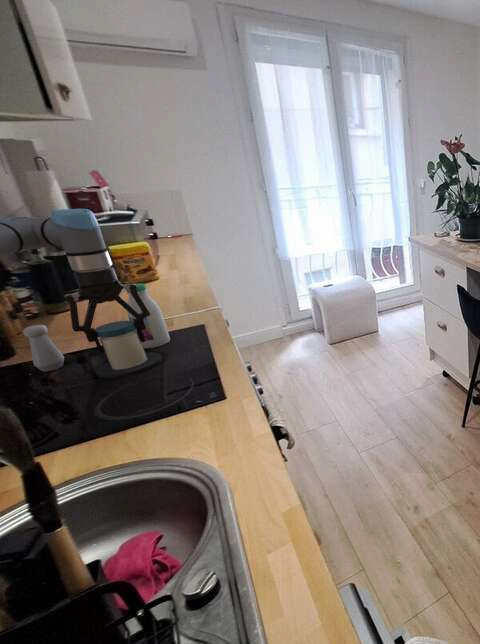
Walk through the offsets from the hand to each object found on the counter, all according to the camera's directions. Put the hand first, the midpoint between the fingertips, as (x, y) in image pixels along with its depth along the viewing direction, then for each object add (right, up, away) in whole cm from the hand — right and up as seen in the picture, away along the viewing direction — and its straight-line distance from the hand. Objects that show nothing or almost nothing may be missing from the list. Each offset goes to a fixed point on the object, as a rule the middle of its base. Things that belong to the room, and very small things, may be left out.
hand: (122, 345), depth 116 cm
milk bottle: (-5, -1, +16) cm, 17 cm away
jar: (0, -5, +2) cm, 6 cm away
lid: (0, +5, -2) cm, 6 cm away
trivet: (0, -6, +2) cm, 7 cm away
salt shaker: (-21, -7, +1) cm, 22 cm away
